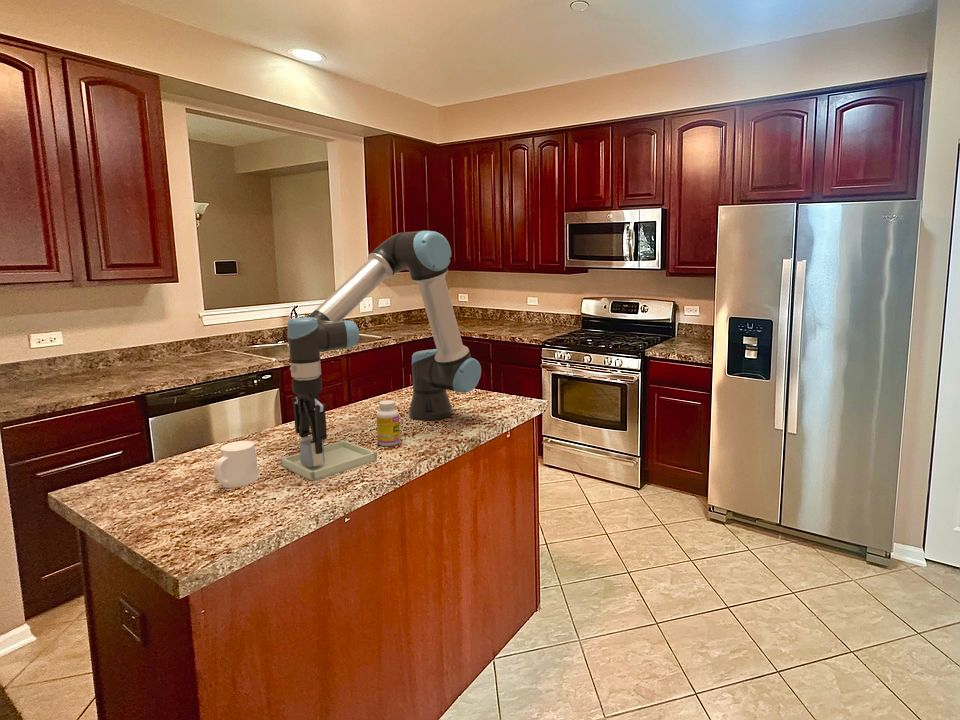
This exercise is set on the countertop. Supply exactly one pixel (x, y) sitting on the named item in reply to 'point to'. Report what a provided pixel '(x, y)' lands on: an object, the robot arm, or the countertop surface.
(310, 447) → the grey rectangular block
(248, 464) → the mug
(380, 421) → the supplement bottle
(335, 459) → the tray
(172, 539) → the countertop surface
